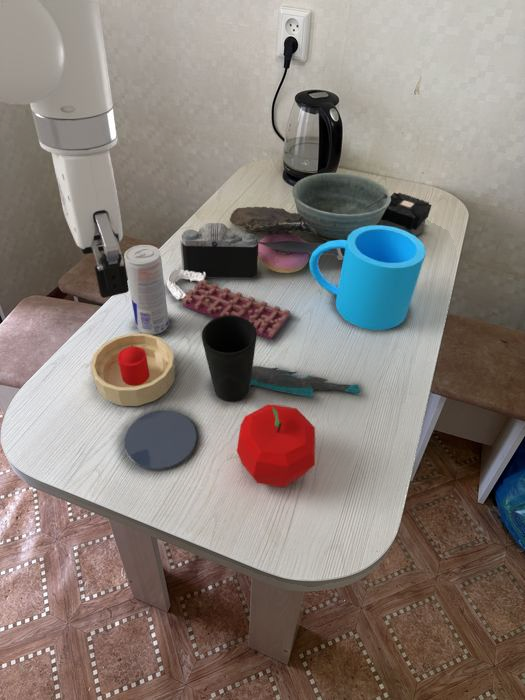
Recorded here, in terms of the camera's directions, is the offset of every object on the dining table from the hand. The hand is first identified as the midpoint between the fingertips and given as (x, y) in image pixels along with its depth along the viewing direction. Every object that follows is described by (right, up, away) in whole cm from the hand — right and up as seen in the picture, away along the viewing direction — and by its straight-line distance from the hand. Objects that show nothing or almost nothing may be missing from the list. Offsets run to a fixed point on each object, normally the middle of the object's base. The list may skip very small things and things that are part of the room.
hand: (104, 271), depth 61 cm
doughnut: (+23, +9, +43) cm, 50 cm away
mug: (+37, -1, +35) cm, 51 cm away
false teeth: (+4, +3, +36) cm, 36 cm away
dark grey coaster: (+5, -22, +10) cm, 25 cm away
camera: (+11, +7, +40) cm, 42 cm away
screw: (+42, +20, +42) cm, 63 cm away
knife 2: (+22, -15, +19) cm, 33 cm away
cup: (+14, -16, +18) cm, 28 cm away
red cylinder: (-1, -14, +18) cm, 23 cm away
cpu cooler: (+47, +23, +56) cm, 77 cm away
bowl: (+36, +17, +53) cm, 66 cm away
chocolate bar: (+14, -3, +31) cm, 34 cm away
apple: (+21, -25, +8) cm, 34 cm away
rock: (+28, +18, +44) cm, 55 cm away
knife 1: (+32, +8, +39) cm, 51 cm away
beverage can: (0, -5, +28) cm, 28 cm away
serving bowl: (-1, -14, +18) cm, 23 cm away
